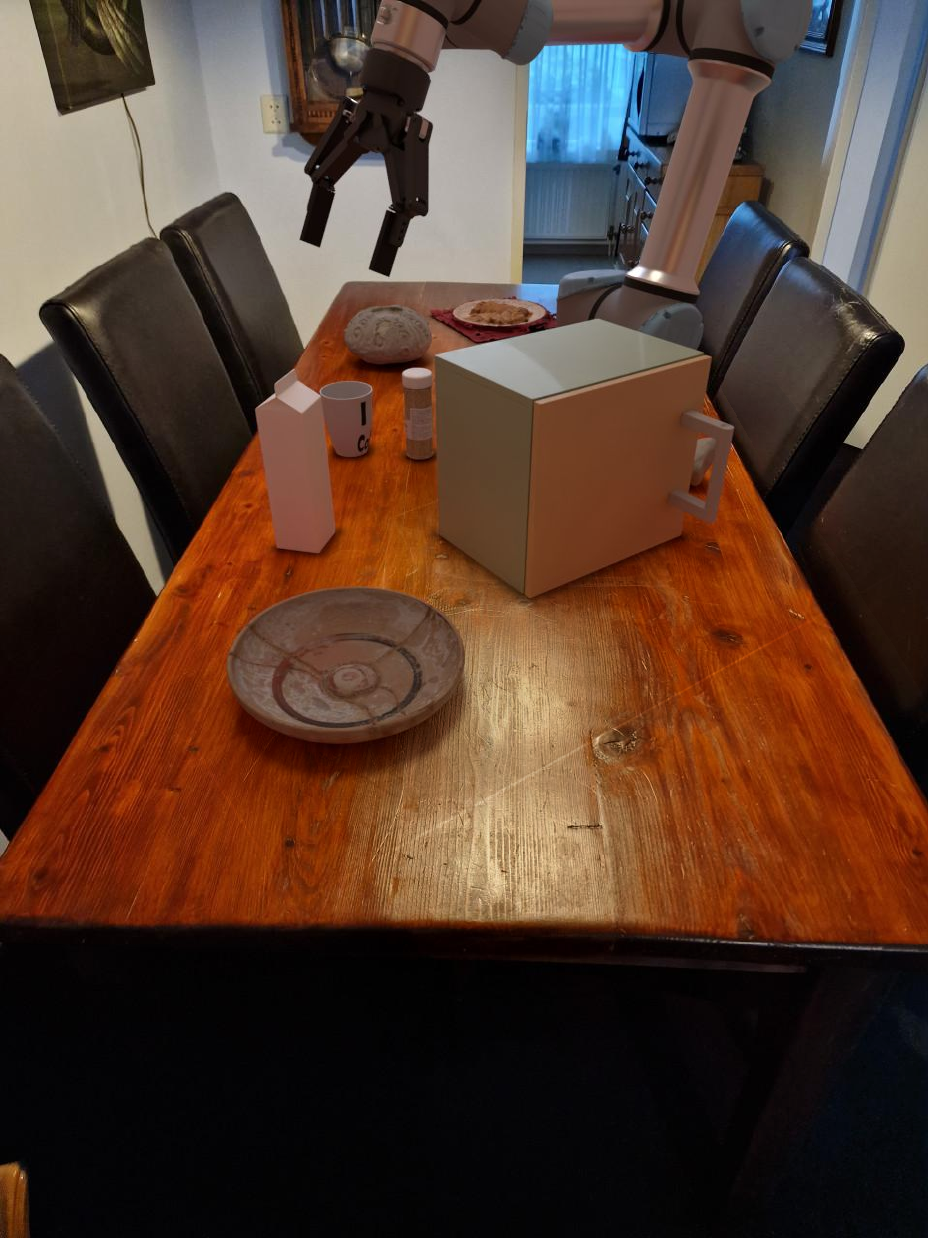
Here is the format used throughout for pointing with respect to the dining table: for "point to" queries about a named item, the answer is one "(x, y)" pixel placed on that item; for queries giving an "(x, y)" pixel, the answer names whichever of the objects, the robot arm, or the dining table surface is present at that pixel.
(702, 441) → the ceramic sculpture
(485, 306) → the plate with food
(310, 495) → the milk
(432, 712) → the ceramic bowl
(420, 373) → the sprinkles bottle
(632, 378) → the door
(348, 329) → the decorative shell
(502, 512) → the cabinet
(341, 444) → the cup
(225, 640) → the dining table surface
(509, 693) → the dining table surface
